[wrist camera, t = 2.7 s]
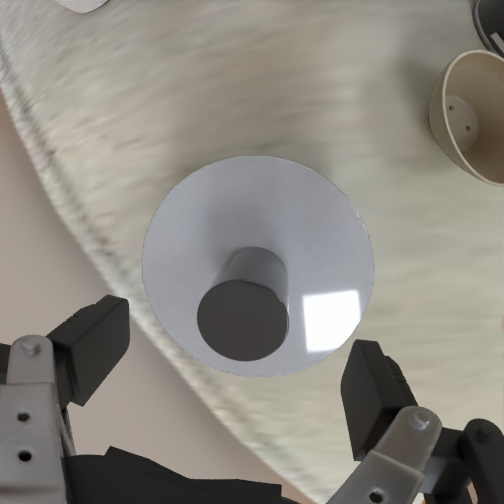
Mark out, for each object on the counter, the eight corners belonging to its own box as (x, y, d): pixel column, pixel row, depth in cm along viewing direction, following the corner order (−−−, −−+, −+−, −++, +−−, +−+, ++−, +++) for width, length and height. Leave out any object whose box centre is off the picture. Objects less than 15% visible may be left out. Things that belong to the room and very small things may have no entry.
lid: (132, 175, 17) (68, 182, 11) (361, 145, 16) (400, 135, 10) (173, 368, 20) (141, 429, 15) (367, 357, 19) (390, 423, 13)
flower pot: (385, 134, 23) (419, 125, 17) (431, 50, 21) (468, 24, 14) (468, 201, 24) (514, 214, 17) (506, 119, 21) (553, 113, 14)
